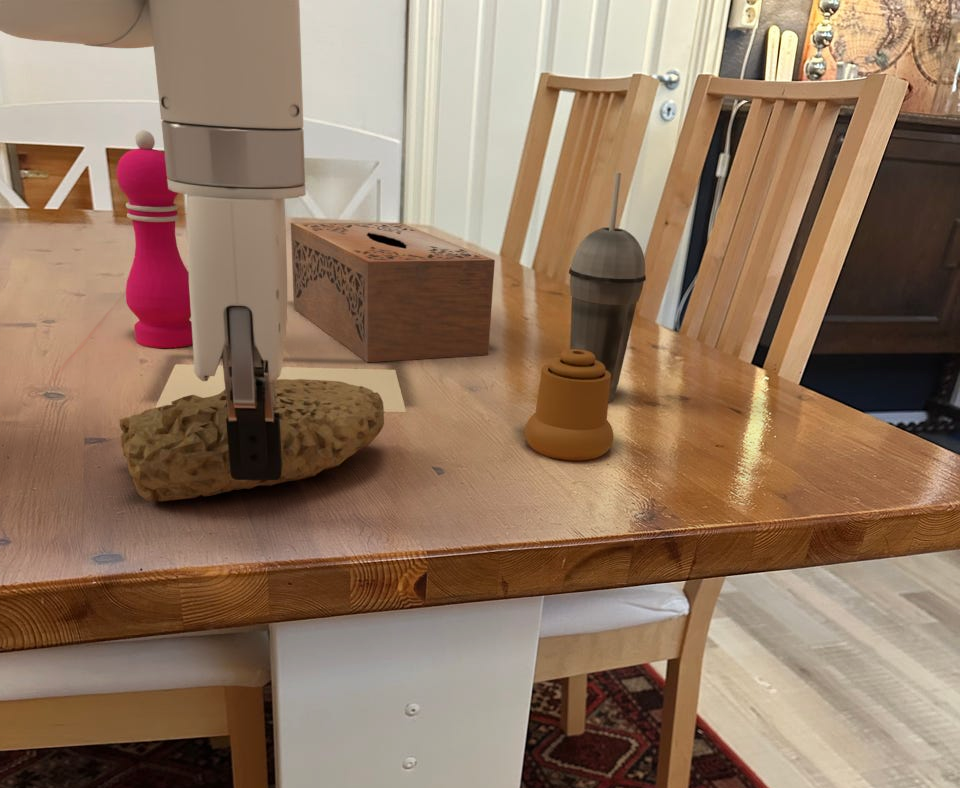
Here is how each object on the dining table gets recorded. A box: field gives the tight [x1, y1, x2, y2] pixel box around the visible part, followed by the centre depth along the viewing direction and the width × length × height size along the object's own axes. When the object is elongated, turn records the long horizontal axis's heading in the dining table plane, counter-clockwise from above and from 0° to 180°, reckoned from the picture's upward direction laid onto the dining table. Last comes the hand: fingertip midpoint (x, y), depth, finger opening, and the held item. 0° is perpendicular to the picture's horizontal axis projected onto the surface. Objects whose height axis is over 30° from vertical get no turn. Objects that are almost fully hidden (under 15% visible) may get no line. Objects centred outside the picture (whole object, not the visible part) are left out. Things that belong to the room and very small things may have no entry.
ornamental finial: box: [524, 348, 614, 462], centre depth 77 cm, size 8×8×8 cm
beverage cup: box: [568, 172, 647, 403], centre depth 88 cm, size 7×7×20 cm
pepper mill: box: [116, 129, 193, 349], centre depth 95 cm, size 7×7×20 cm
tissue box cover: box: [290, 222, 496, 363], centre depth 108 cm, size 26×14×10 cm, turn 27°
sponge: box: [118, 379, 386, 502], centre depth 68 cm, size 13×8×20 cm
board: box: [154, 363, 407, 414], centre depth 89 cm, size 22×14×1 cm, turn 99°
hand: (257, 474), depth 61 cm, fingers closed
